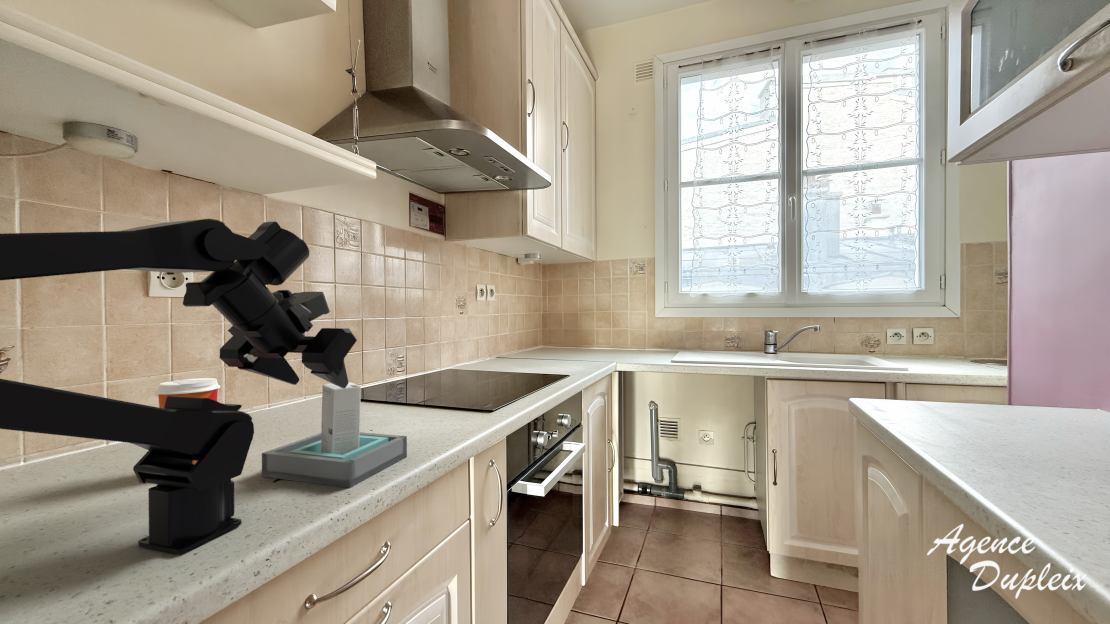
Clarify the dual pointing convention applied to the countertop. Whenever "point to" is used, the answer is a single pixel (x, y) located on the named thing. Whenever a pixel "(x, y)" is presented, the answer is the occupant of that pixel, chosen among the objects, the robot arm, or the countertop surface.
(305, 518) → the countertop surface
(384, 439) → the crate
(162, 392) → the paper cup
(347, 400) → the skincare box
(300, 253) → the robot arm
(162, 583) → the countertop surface
